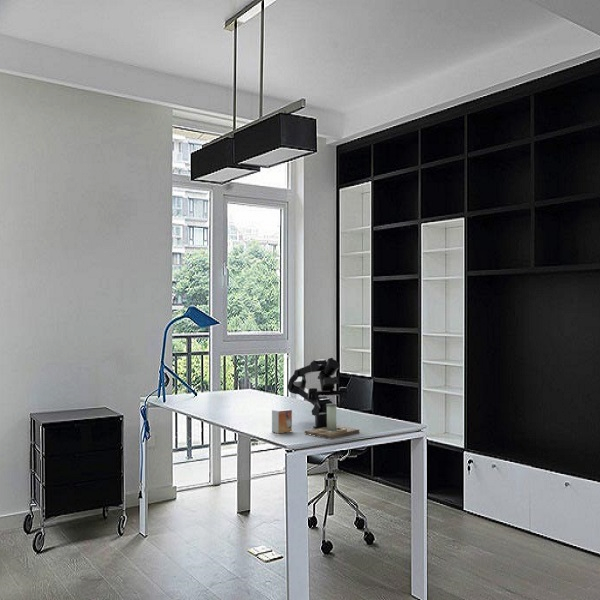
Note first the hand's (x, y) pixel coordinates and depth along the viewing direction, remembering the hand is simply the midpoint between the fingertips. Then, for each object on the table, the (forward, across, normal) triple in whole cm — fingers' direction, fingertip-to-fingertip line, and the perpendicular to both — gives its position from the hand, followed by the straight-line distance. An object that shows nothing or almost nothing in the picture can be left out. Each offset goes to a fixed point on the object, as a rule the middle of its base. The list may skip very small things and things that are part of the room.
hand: (330, 407), depth 315 cm
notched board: (+8, +1, +9) cm, 12 cm away
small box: (+3, -22, +15) cm, 26 cm away
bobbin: (+9, 0, +6) cm, 11 cm away
